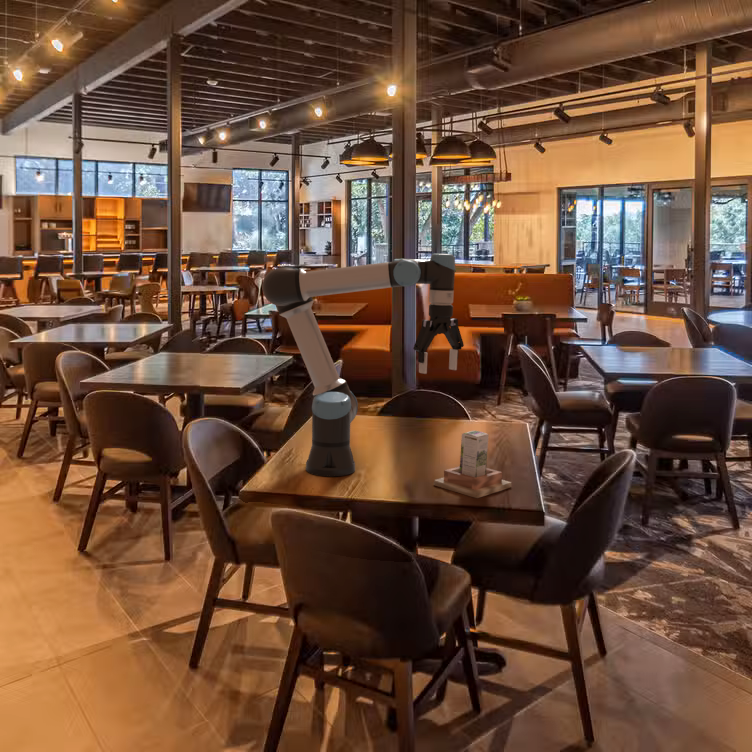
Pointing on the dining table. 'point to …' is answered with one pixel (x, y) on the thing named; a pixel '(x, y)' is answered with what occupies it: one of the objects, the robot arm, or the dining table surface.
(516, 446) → the dining table surface
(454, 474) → the socket board
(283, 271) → the robot arm
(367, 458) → the dining table surface
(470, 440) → the syrup box
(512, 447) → the dining table surface
